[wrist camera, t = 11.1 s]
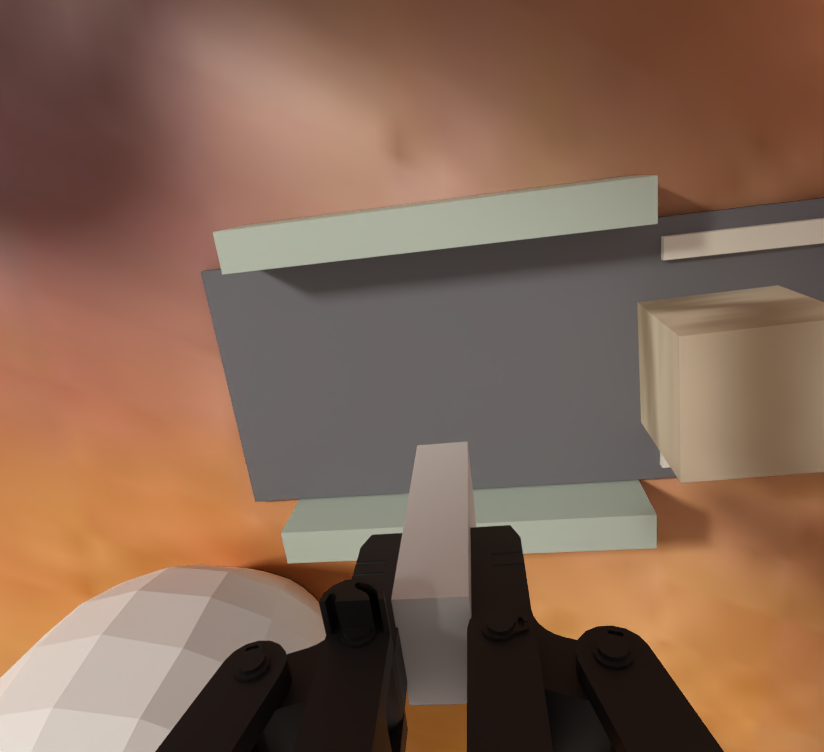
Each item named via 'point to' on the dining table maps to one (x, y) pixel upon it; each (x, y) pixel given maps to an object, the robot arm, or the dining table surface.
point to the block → (734, 383)
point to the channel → (439, 229)
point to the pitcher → (145, 656)
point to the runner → (479, 350)
